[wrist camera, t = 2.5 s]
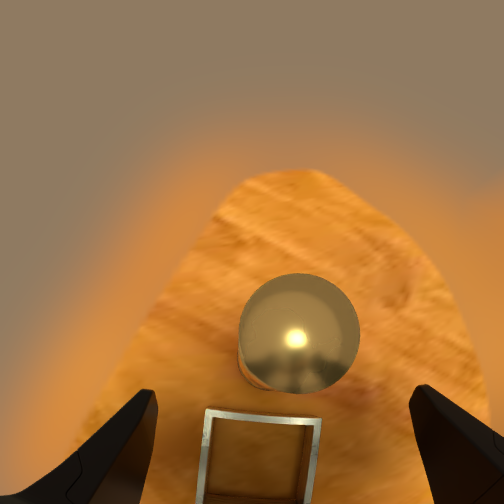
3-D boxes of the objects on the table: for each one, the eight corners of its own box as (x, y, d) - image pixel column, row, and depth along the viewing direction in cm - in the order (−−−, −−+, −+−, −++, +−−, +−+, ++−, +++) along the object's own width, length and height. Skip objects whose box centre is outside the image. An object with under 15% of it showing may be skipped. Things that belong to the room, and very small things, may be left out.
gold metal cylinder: (294, 392, 18) (358, 397, 8) (234, 386, 18) (229, 389, 8) (299, 334, 20) (361, 278, 10) (240, 328, 20) (245, 265, 10)
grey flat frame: (302, 551, 13) (309, 565, 11) (183, 543, 13) (178, 557, 11) (324, 415, 18) (334, 418, 16) (197, 404, 18) (193, 406, 16)
